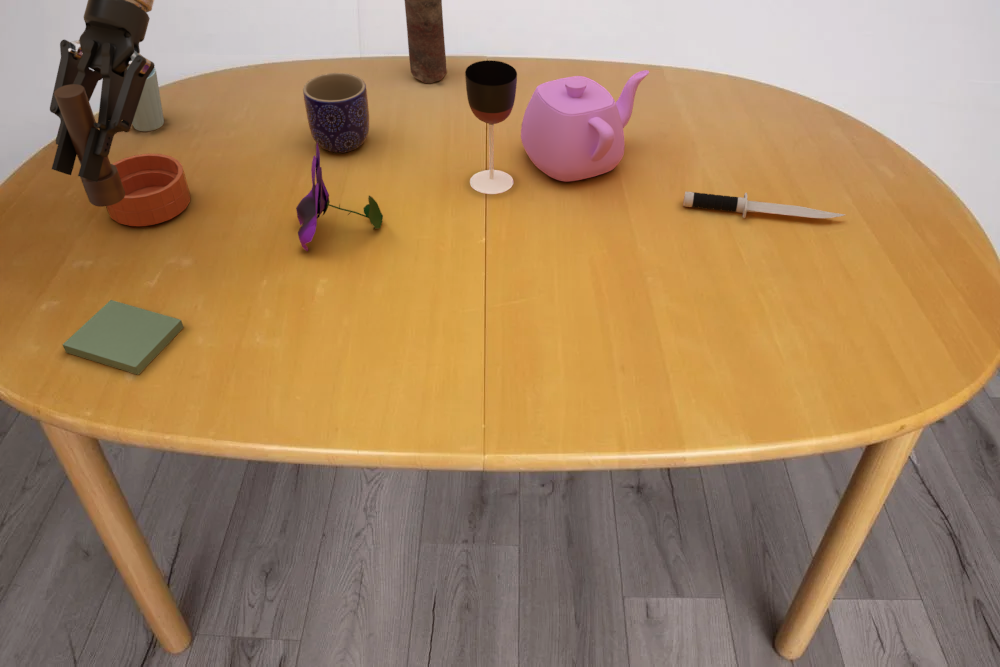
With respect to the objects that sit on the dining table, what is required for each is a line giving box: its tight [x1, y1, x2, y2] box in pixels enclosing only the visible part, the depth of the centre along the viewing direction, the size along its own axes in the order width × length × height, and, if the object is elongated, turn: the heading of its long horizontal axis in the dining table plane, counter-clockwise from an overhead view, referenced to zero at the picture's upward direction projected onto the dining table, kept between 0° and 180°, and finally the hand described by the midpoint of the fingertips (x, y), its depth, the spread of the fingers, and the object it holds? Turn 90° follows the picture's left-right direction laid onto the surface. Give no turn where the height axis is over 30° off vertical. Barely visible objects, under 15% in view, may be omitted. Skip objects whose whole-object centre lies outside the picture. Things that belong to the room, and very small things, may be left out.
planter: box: [302, 72, 370, 154], centre depth 155 cm, size 11×11×11 cm
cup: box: [127, 65, 165, 132], centre depth 160 cm, size 8×8×10 cm
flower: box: [295, 143, 384, 252], centre depth 136 cm, size 15×15×14 cm
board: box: [61, 299, 185, 376], centre depth 120 cm, size 12×10×2 cm
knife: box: [682, 190, 846, 219], centre depth 142 cm, size 26×2×5 cm
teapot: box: [520, 69, 650, 182], centre depth 150 cm, size 23×21×15 cm
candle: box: [403, 0, 448, 84], centre depth 172 cm, size 8×7×20 cm
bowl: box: [105, 152, 191, 227], centre depth 142 cm, size 13×13×6 cm
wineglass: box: [464, 59, 518, 195], centre depth 143 cm, size 8×9×20 cm
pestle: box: [54, 84, 125, 207], centre depth 116 cm, size 5×5×16 cm
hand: (74, 175), depth 115 cm, fingers closed on pestle, 4 cm apart
